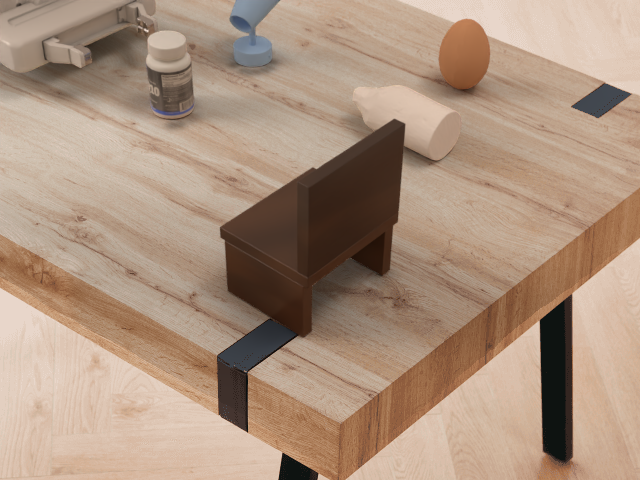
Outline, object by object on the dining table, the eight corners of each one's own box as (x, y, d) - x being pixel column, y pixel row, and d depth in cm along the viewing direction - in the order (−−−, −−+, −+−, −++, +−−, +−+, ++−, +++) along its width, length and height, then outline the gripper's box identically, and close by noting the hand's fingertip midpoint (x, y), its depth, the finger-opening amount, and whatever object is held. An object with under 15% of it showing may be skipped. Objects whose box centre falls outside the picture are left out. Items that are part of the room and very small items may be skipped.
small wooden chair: (223, 288, 96) (213, 137, 85) (312, 227, 103) (313, 80, 92) (307, 340, 91) (308, 187, 81) (394, 272, 98) (405, 123, 88)
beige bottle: (372, 104, 120) (375, 60, 116) (460, 146, 114) (465, 100, 111) (337, 126, 116) (339, 80, 112) (426, 170, 111) (430, 123, 107)
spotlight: (251, 38, 130) (221, 62, 125) (249, -41, 123) (217, -18, 118) (287, 48, 128) (258, 73, 124) (287, -32, 122) (255, -8, 117)
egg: (494, 83, 124) (503, 17, 119) (472, 105, 121) (480, 38, 115) (450, 69, 126) (457, 3, 121) (427, 90, 123) (432, 23, 117)
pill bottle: (146, 100, 118) (139, 31, 113) (189, 94, 120) (183, 25, 114) (156, 123, 115) (148, 52, 109) (199, 116, 116) (194, 46, 111)
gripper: (-45, 7, 115) (38, 51, 109) (103, -51, 127) (185, -14, 121) (-33, 60, 119) (47, 105, 113) (109, -1, 132) (189, 37, 125)
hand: (120, 43), depth 117 cm, fingers open, 8 cm apart
